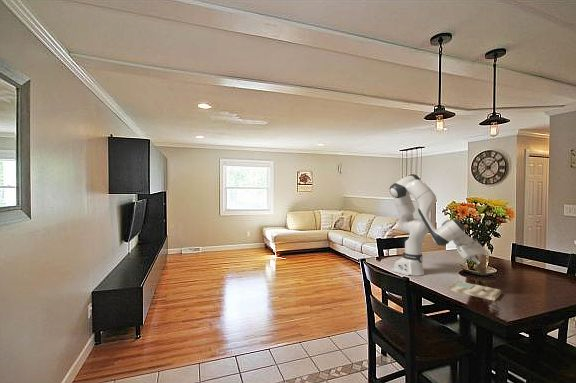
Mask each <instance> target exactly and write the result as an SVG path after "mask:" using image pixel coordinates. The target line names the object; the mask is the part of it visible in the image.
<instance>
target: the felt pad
mask: <svg viewBox="0 0 576 383" xmlns="http://www.w3.org/2000/svg"><path fill="white" fill-rule="evenodd" d="M463 282H464V281H461V282H458V283H457V284H455V286H459V287H463V288H468V289H471V288H472V287H474V285H472V284H473V283H470V284H467V283H468V282H466V283H463Z"/></svg>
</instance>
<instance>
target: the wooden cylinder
mask: <svg viewBox="0 0 576 383" xmlns="http://www.w3.org/2000/svg"><path fill="white" fill-rule="evenodd" d="M476 259H477V260H479V261H480V262H481V264H477V263H476V272H477V273H479V274H483V275H484V274H487V262H486V261H487V255H486V254H485V255H483V254H478V255H477V257H476Z"/></svg>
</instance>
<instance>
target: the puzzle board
mask: <svg viewBox="0 0 576 383" xmlns="http://www.w3.org/2000/svg"><path fill="white" fill-rule="evenodd" d="M458 282H463V283H467V284H472V285H474V287H472V288H471V289H468V288H463V287H459V286H455V284H457V283H458ZM448 290H449V292H451V291H452V292H456V293H459V294H463V295H468V296H472V297H476V298H480V299H485V300H488V301H493V302H494V301H496V300H497V299H498V298H499V297H500V295H501V294H502V292H501V291H502V290H501V289H498V288H495V287H489V286H484V285H480V284H475V283H469V282H464V281H460V280H456V281H454V282H453V283H452V284H450V285H449V286H448Z"/></svg>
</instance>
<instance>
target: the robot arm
mask: <svg viewBox="0 0 576 383" xmlns="http://www.w3.org/2000/svg"><path fill="white" fill-rule="evenodd" d="M389 192H390V195H391V196H392V197H393V200H394V204H395V207H396V209H397V212H398V215H399V219H398V221H397V222H398V223H397V228H398V230H400V231H402V232H403V233H407V234H409V237H408V238H407V239H406V240H405V241H404V252H402V253H401V256H402V257H400V258H399V259H398V260H396V261H395V262H394V265H393V267H391V268H390V271H391V272H395V273H398V274H402V275H405V276H408V275H411V276H424V275H425V270H424V265H423V258H424V257H423V247H422V246H423V240H424V238H425V237H426V235H428V234H429V233H430V236H431V238H432V240H433V242H434V243H435V244H436V245H437V246H443V247H445V246H447V245H448V244H449V243H450V242H452V241H453V244H455V248H456V249H457V252H458V254H459V255H460V256H461V258H462V259H463V260H465V261H466V260H470V259H471V261H473V262H474V263H475V264H476V265H477V264H481V262H480V261H479V260H477V255H478V254H483V255H486V254H487V250H486V249H485V248H484V247H483V245H482V244H481V243H479V241H478V239H476V238H474V237H471V236H469V235H468V234H467V233H465V230H466V226H464V225H463V224H462V223H461V222H460V220H458V219H447V220H445V221H443V222H442V223H441V226H440V227H438V228H435V225H434V224H433V222H432V220H431V218H430V212H431V211H432V209H433V208H434V206H435V205H436V202H437V195H436V194H435V193H434V191H433V190H432V189H431V188H430V187H429V186H428V185H427V184H426V183H424V181H423V180H421V178H420V177H419V176H418V175H417V174H413V173H412V174H408V175H407V176H405V177H401V178H400V179H399V180H398V181H395V183H392V184H391V185H390V187H389ZM410 195H411V196H412V198H413V199H414V200H415V201H416V202H417V205H418V209H417V212H418V214H419V216H420V218H421V219H419V218H415V217H414V213H415V211H416V208H415V206H414V203H413V200H412V198H411V196H410ZM486 263H487V260H486Z"/></svg>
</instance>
